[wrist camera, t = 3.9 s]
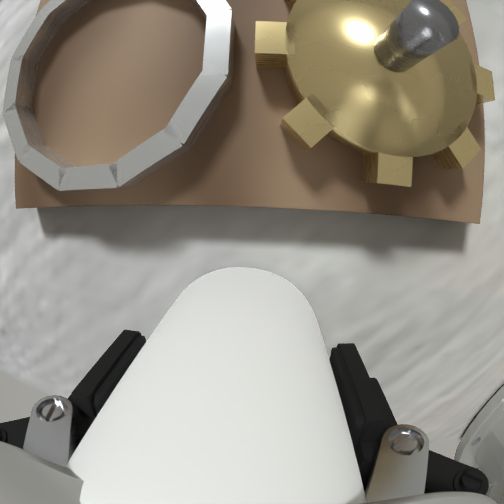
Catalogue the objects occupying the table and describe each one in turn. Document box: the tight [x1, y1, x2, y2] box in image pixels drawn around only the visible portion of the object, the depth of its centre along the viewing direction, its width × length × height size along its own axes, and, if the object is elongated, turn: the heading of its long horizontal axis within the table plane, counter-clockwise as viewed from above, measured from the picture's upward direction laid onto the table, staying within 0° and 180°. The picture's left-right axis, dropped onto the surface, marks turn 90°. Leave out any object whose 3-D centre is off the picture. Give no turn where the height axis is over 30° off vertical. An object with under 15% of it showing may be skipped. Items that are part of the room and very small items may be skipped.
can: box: [66, 267, 366, 504], centre depth 8 cm, size 6×6×12 cm
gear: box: [255, 0, 495, 187], centre depth 7 cm, size 9×9×4 cm
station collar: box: [3, 0, 235, 191], centre depth 9 cm, size 10×10×1 cm
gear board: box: [15, 0, 485, 224], centre depth 10 cm, size 20×11×2 cm, turn 88°
